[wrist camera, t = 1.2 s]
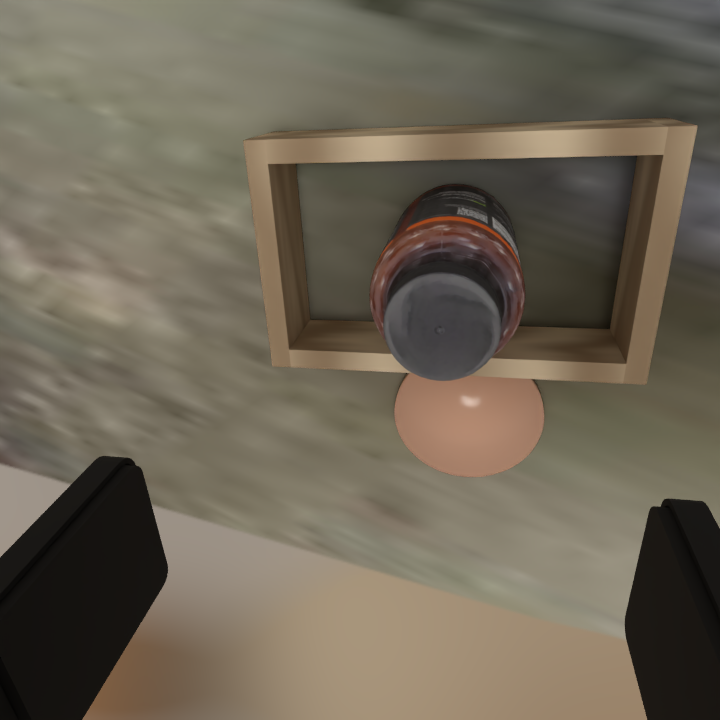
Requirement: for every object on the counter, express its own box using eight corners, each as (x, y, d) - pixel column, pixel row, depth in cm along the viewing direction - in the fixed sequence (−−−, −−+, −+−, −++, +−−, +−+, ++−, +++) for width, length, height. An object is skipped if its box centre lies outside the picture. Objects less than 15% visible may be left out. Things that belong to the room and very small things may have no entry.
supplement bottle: (410, 306, 31) (374, 417, 21) (383, 197, 29) (329, 264, 19) (523, 285, 29) (542, 395, 19) (505, 168, 27) (515, 224, 17)
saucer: (550, 349, 31) (551, 354, 30) (536, 476, 34) (537, 482, 34) (394, 343, 32) (392, 348, 32) (397, 465, 36) (395, 471, 35)
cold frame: (668, 117, 25) (697, 125, 21) (627, 347, 30) (646, 384, 26) (273, 131, 28) (243, 140, 25) (295, 334, 33) (272, 366, 30)
